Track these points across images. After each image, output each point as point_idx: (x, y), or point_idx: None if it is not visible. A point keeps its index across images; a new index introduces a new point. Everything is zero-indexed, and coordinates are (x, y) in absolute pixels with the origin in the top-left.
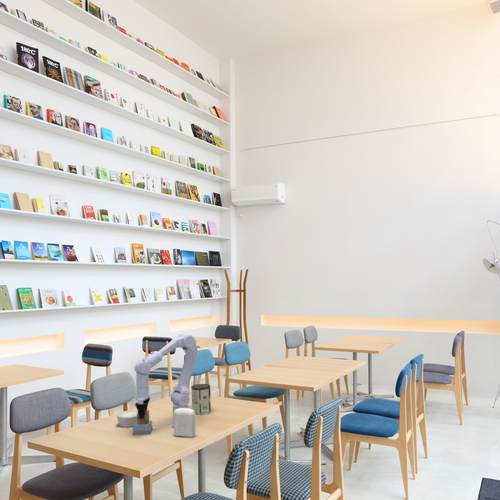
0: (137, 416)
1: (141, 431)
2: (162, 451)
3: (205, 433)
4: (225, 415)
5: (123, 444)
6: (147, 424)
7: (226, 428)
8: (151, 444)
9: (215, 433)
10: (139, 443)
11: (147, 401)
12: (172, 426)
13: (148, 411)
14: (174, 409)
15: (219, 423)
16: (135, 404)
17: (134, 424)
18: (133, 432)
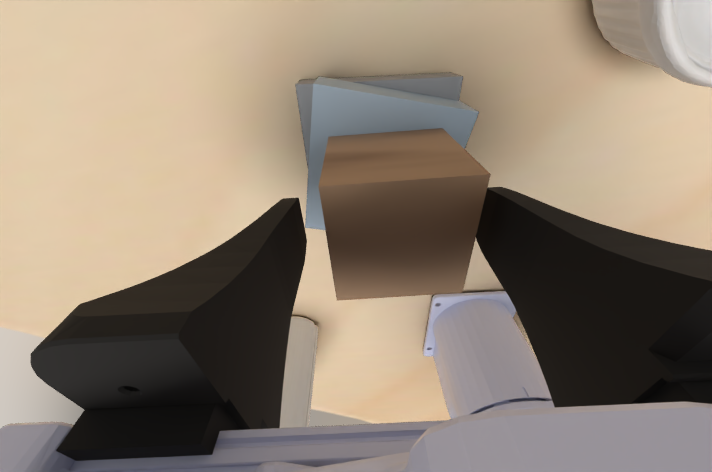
0: (323, 172)
1: (307, 161)
2: (55, 300)
3: (317, 386)
4: None
5: (40, 43)
6: (324, 226)
7: (366, 417)
8: (130, 244)
9: (315, 403)
10: (120, 175)
11: (558, 380)
12: (432, 298)
13: (405, 294)
14: (481, 393)
15: (429, 405)
16: (39, 344)
17: (332, 102)
18: (297, 88)
